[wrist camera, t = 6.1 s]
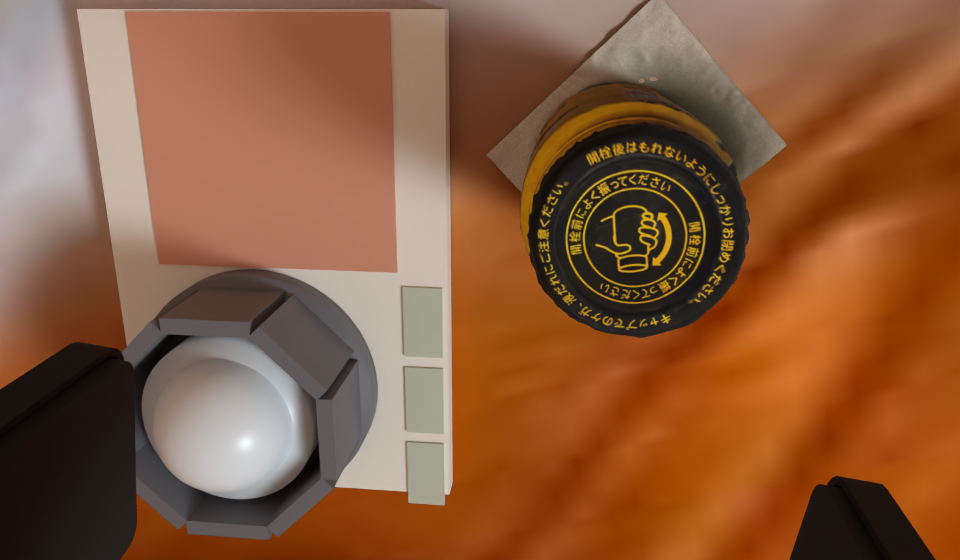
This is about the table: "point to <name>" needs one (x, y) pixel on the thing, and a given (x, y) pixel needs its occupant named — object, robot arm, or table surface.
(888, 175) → the table surface
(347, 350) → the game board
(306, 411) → the dome
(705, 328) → the table surface
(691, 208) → the condiment
